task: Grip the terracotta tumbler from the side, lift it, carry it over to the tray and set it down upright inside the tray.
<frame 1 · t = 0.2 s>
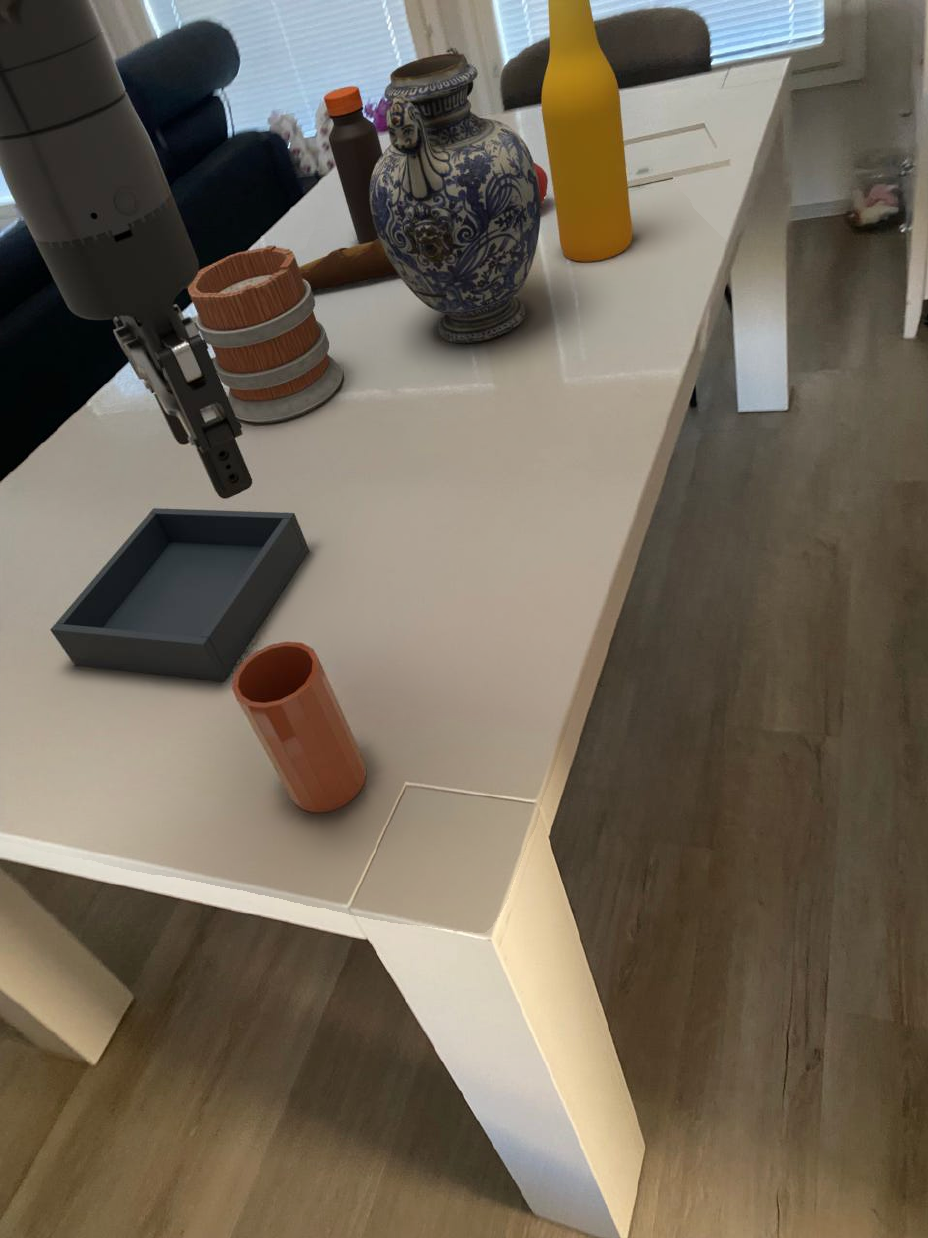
hand: (213, 463, 61), 21 cm above the table, tool pointing down, fingers open, 8 cm apart
vinegar: (381, 239, 142), on the table
tray: (195, 605, 85), on the table
bread: (385, 276, 132), on the table
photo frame: (668, 157, 142), on the table
tumbler: (328, 779, 67), on the table
beer bottle: (597, 248, 124), on the table
pomegranate: (517, 213, 138), on the table
mug: (266, 398, 112), on the table
decorative vase: (481, 323, 115), on the table
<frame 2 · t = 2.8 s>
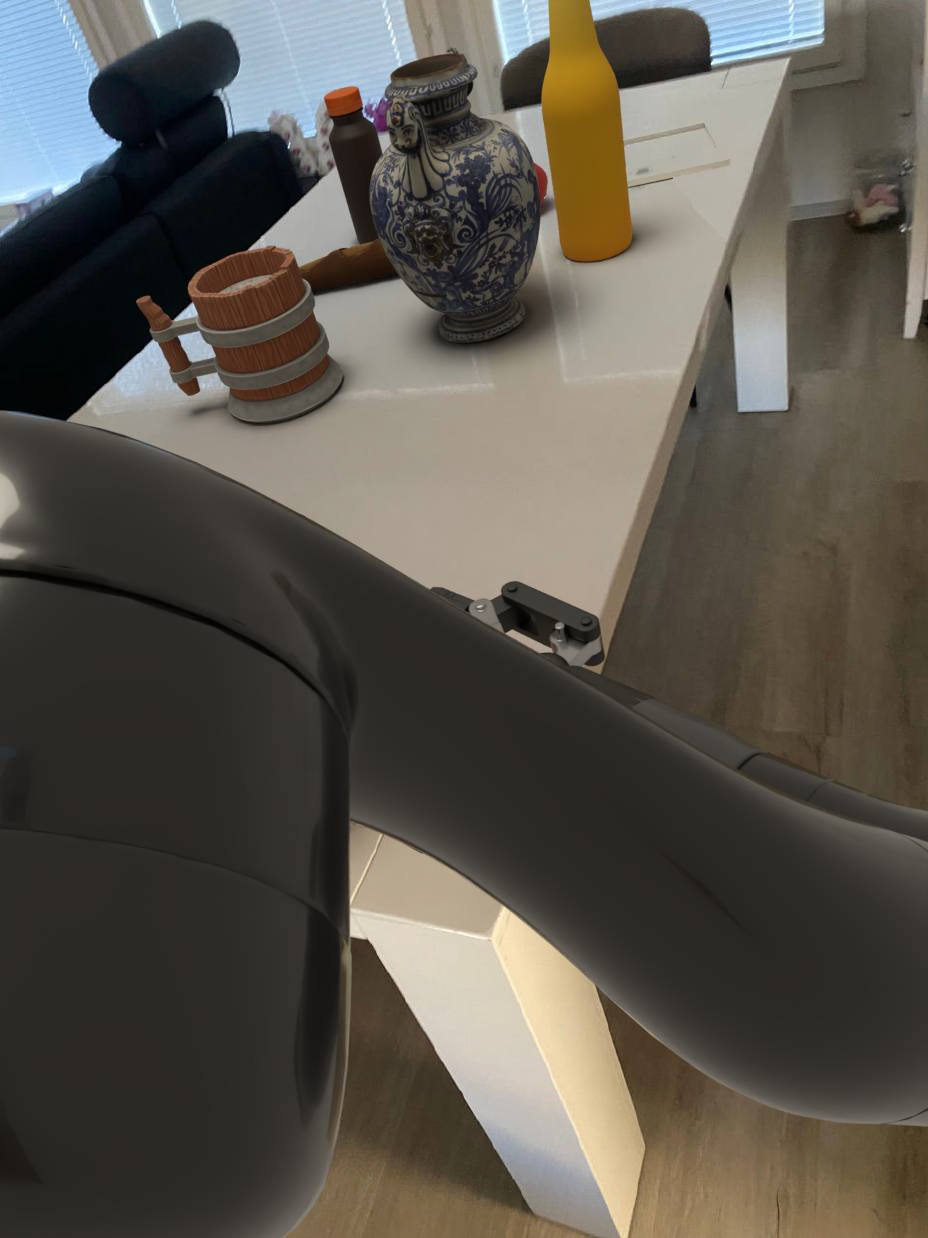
hand: (362, 653, 49), 18 cm above the table, tool horizontal, fingers open, 8 cm apart
nothing on the table moved.
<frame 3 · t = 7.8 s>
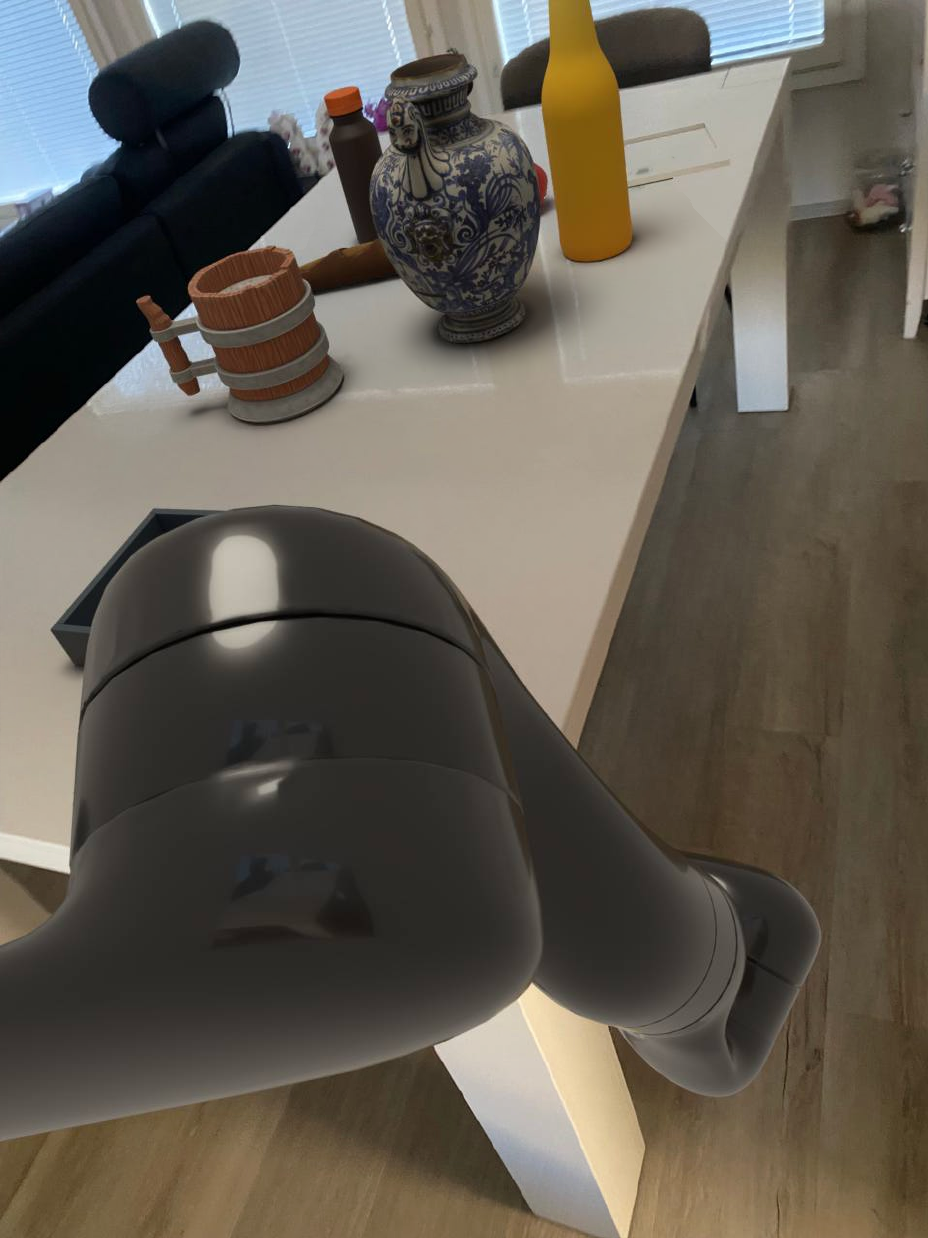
hand: (274, 705, 64), 7 cm above the table, tool horizontal, fingers closed on tumbler, 5 cm apart
tumbler: (328, 779, 67), on the table, touching gripper
everything else where it was.
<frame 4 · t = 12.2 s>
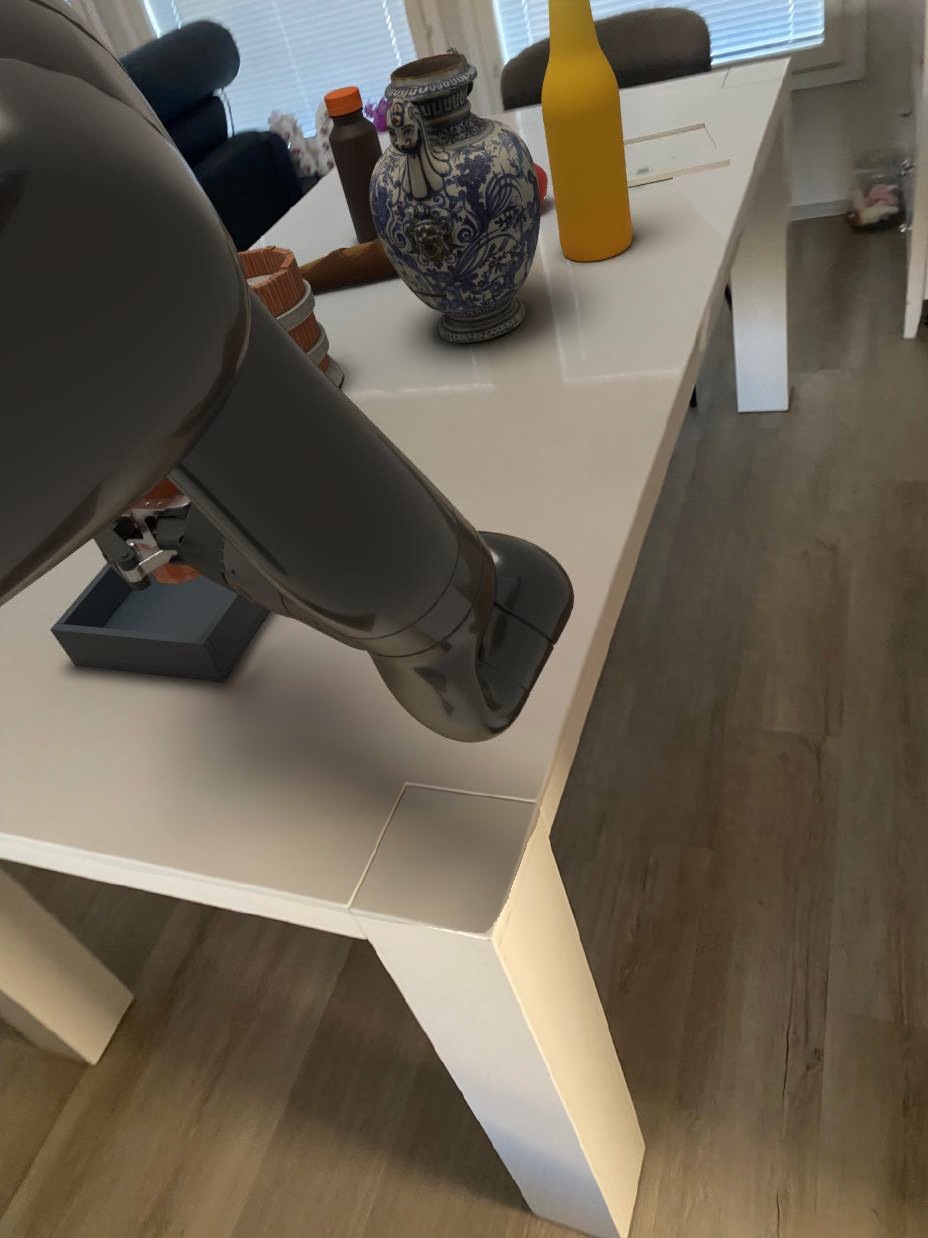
hand: (131, 479, 68), 18 cm above the table, tool horizontal, fingers closed on tumbler, 5 cm apart
tumbler: (188, 559, 71), point 11 cm above the table, touching gripper
everything else where it was.
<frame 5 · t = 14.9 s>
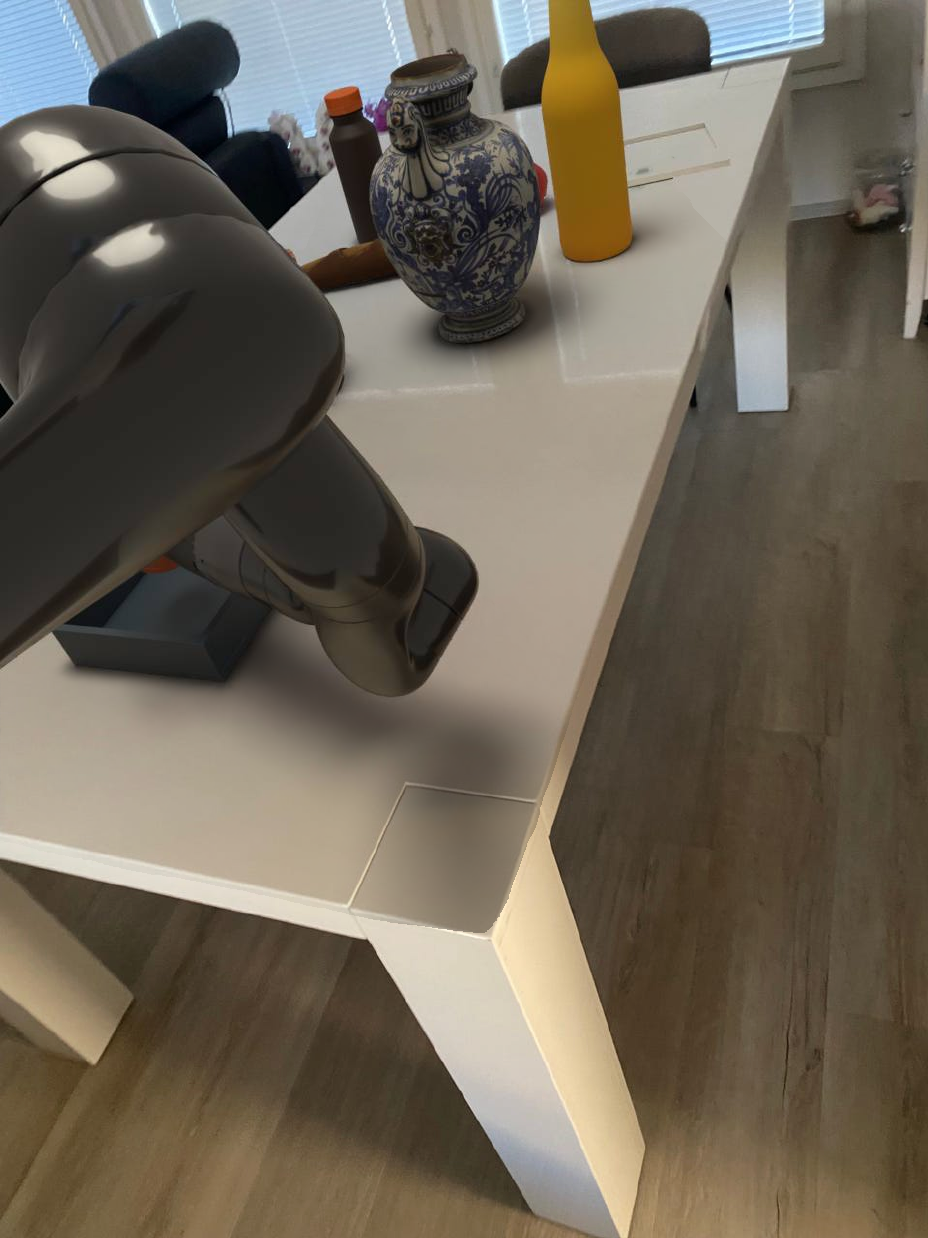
hand: (118, 483, 79), 13 cm above the table, tool horizontal, fingers closed on tumbler, 5 cm apart
tumbler: (168, 552, 81), point 6 cm above the table, touching gripper
everything else where it was.
when the fingers open (7 cm above the table, at t = 17.0 s): tumbler stays where it is, resting on tray.
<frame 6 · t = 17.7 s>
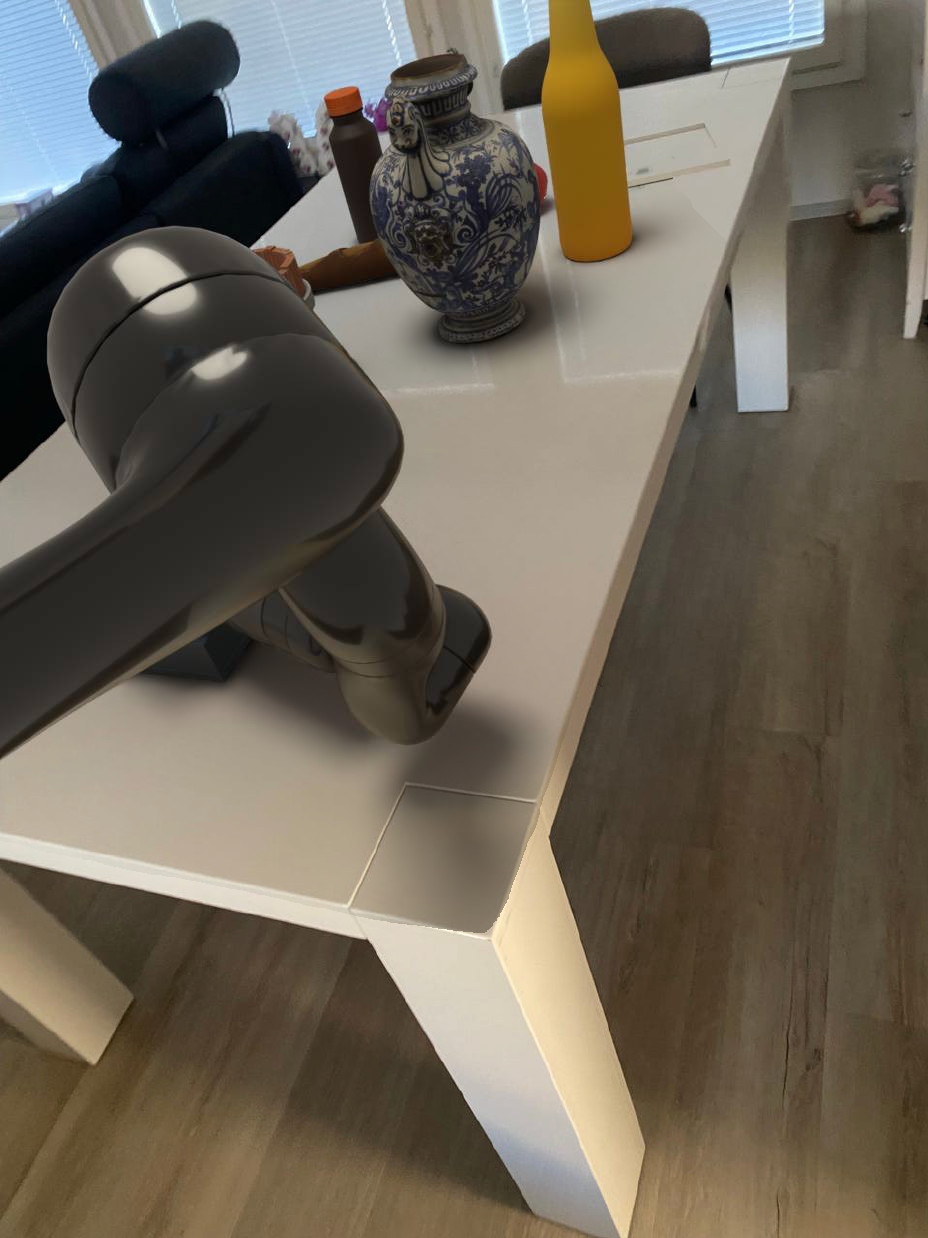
hand: (143, 528, 81), 8 cm above the table, tool horizontal, fingers open, 8 cm apart
tumbler: (193, 598, 85), point 1 cm above the table, touching tray
everything else where it was.
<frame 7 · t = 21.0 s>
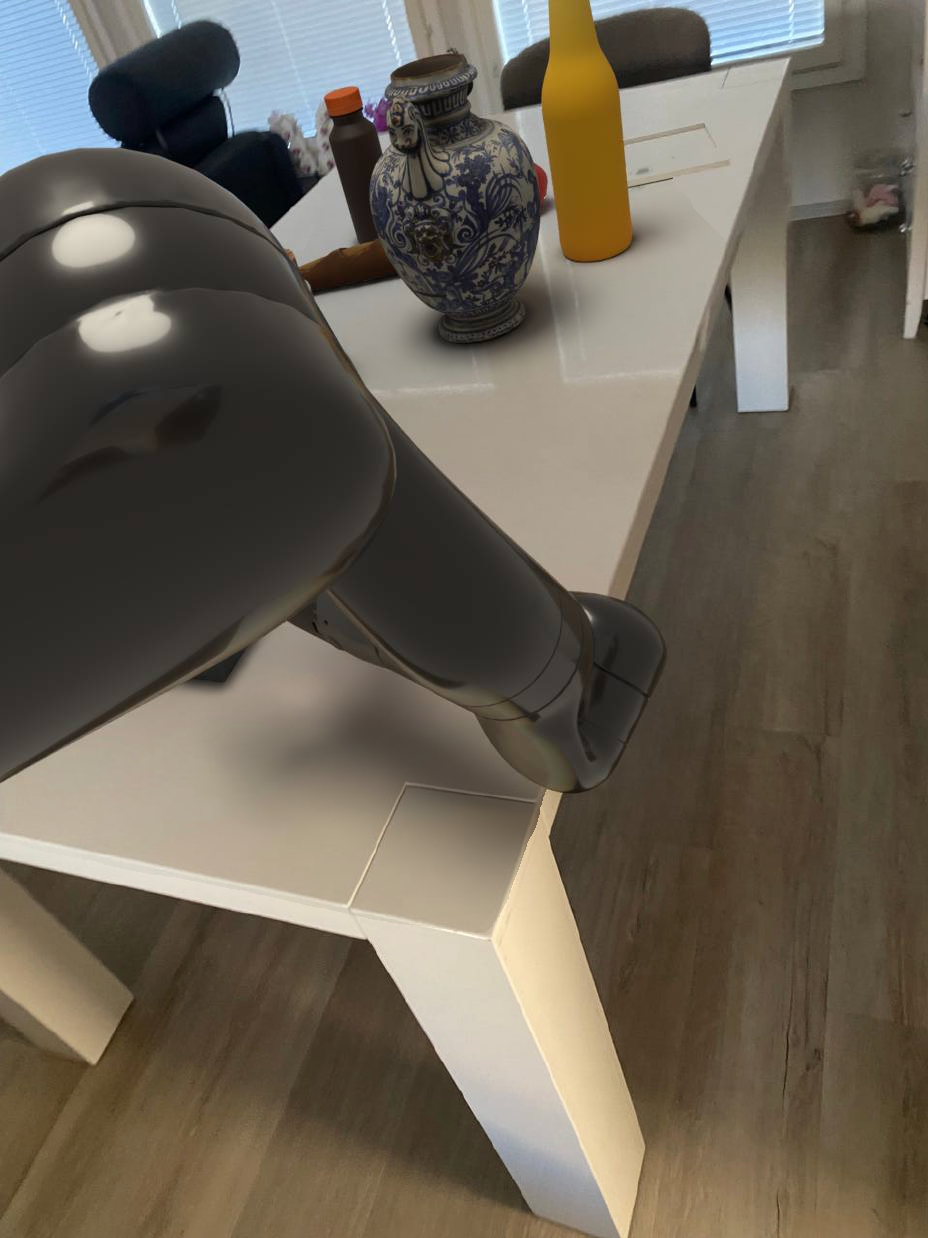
hand: (212, 525, 69), 13 cm above the table, tool horizontal, fingers open, 8 cm apart
nothing on the table moved.
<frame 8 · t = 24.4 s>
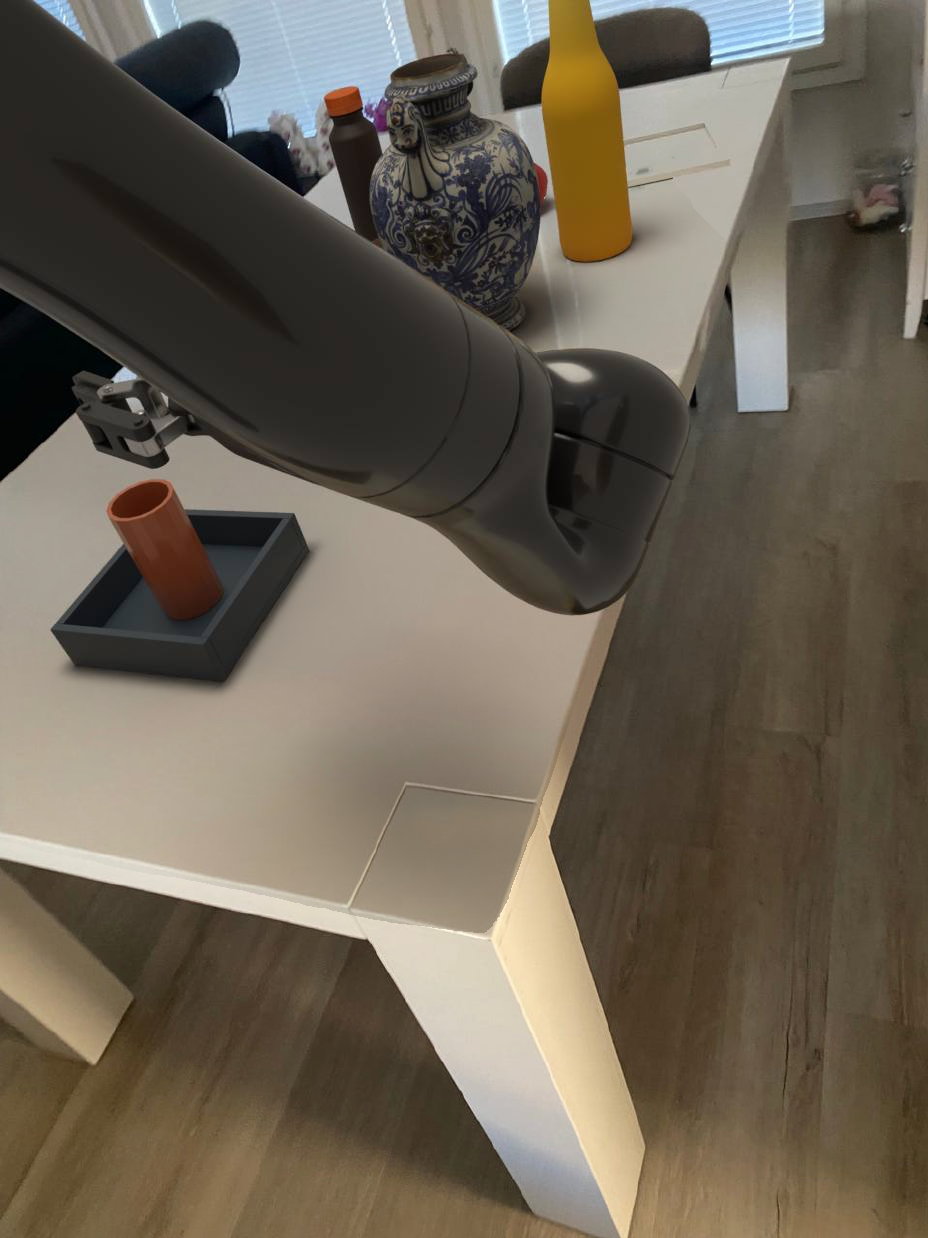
hand: (141, 353, 58), 28 cm above the table, tool horizontal, fingers open, 8 cm apart
nothing on the table moved.
at the end: tumbler inside the target area in the tray (0.1 cm from its centre), point 0.8 cm above the tray's base; tumbler tilted 0°; the gripper is holding nothing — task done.
